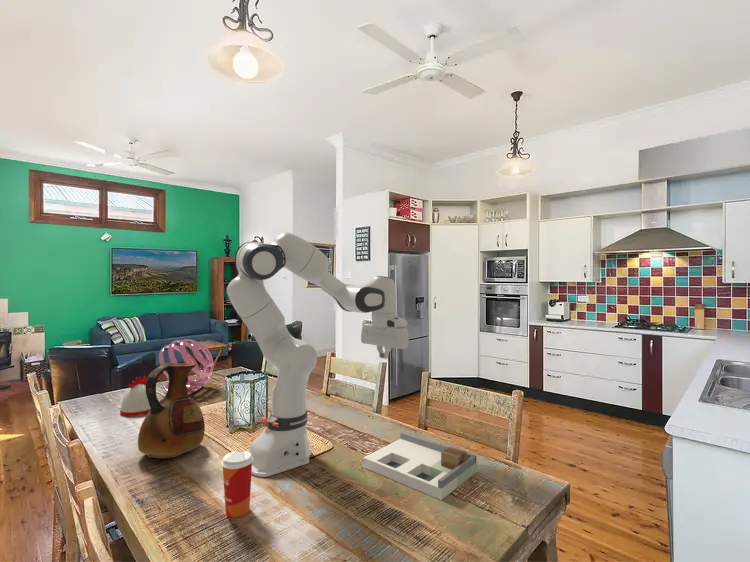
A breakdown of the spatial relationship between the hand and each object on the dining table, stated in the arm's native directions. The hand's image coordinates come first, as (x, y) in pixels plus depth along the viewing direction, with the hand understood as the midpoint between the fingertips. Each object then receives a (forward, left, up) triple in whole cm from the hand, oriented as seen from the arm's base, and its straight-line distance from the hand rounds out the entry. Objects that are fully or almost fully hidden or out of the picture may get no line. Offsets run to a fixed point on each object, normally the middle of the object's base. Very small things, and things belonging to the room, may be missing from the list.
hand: (383, 358), depth 148 cm
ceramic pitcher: (-56, +46, -29) cm, 78 cm away
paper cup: (-60, -2, -29) cm, 67 cm away
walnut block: (-8, -34, -26) cm, 43 cm away
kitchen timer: (-48, +100, -29) cm, 115 cm away
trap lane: (-12, -24, -29) cm, 40 cm away
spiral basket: (-21, +113, -29) cm, 119 cm away
